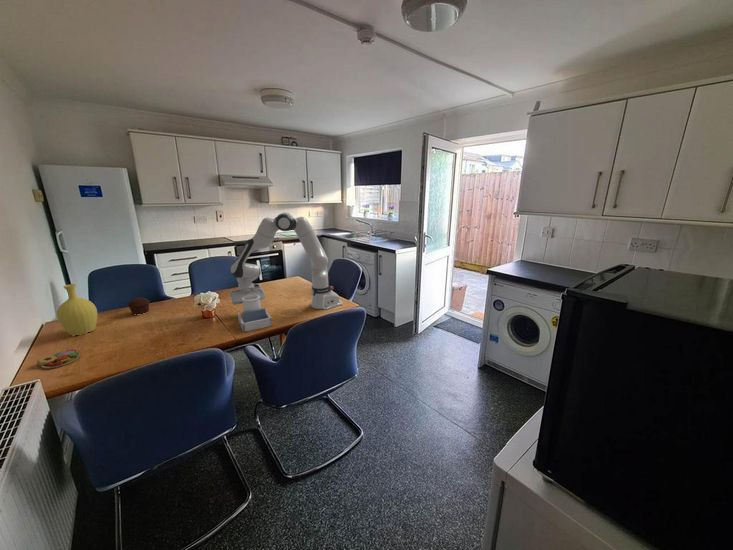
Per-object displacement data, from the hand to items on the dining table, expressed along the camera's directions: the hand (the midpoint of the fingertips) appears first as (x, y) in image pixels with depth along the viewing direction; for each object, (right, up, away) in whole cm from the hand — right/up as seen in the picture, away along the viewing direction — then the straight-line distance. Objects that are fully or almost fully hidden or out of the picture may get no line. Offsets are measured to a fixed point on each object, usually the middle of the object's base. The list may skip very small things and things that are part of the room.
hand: (250, 307), depth 186 cm
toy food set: (-71, -21, -47) cm, 88 cm away
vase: (-89, -12, -19) cm, 91 cm away
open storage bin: (+5, -9, -7) cm, 12 cm away
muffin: (-76, -5, +8) cm, 76 cm away
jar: (+3, -8, -3) cm, 8 cm away
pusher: (+6, -8, -8) cm, 13 cm away
